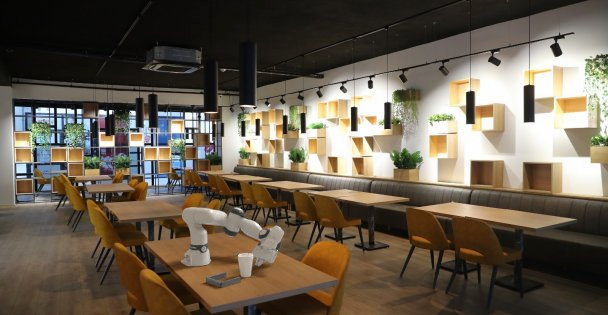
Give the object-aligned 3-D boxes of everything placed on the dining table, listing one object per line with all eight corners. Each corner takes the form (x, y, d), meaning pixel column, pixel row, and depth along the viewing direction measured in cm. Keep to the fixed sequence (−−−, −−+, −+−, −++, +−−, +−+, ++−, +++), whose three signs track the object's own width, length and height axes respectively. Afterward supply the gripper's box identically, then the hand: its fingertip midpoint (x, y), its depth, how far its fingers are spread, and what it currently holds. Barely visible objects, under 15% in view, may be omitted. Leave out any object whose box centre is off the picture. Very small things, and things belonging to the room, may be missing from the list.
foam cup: (242, 278, 253) (242, 257, 253) (235, 275, 260) (235, 254, 260) (256, 276, 258) (255, 255, 258) (248, 272, 266) (248, 252, 266)
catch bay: (206, 282, 247) (206, 277, 247) (225, 276, 257) (225, 272, 257) (220, 287, 237) (220, 282, 237) (240, 282, 247) (240, 277, 247)
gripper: (281, 253, 267) (270, 271, 261) (260, 248, 281) (249, 265, 275) (276, 247, 264) (265, 265, 257) (255, 242, 278) (244, 260, 271)
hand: (256, 265), depth 266 cm, fingers closed
